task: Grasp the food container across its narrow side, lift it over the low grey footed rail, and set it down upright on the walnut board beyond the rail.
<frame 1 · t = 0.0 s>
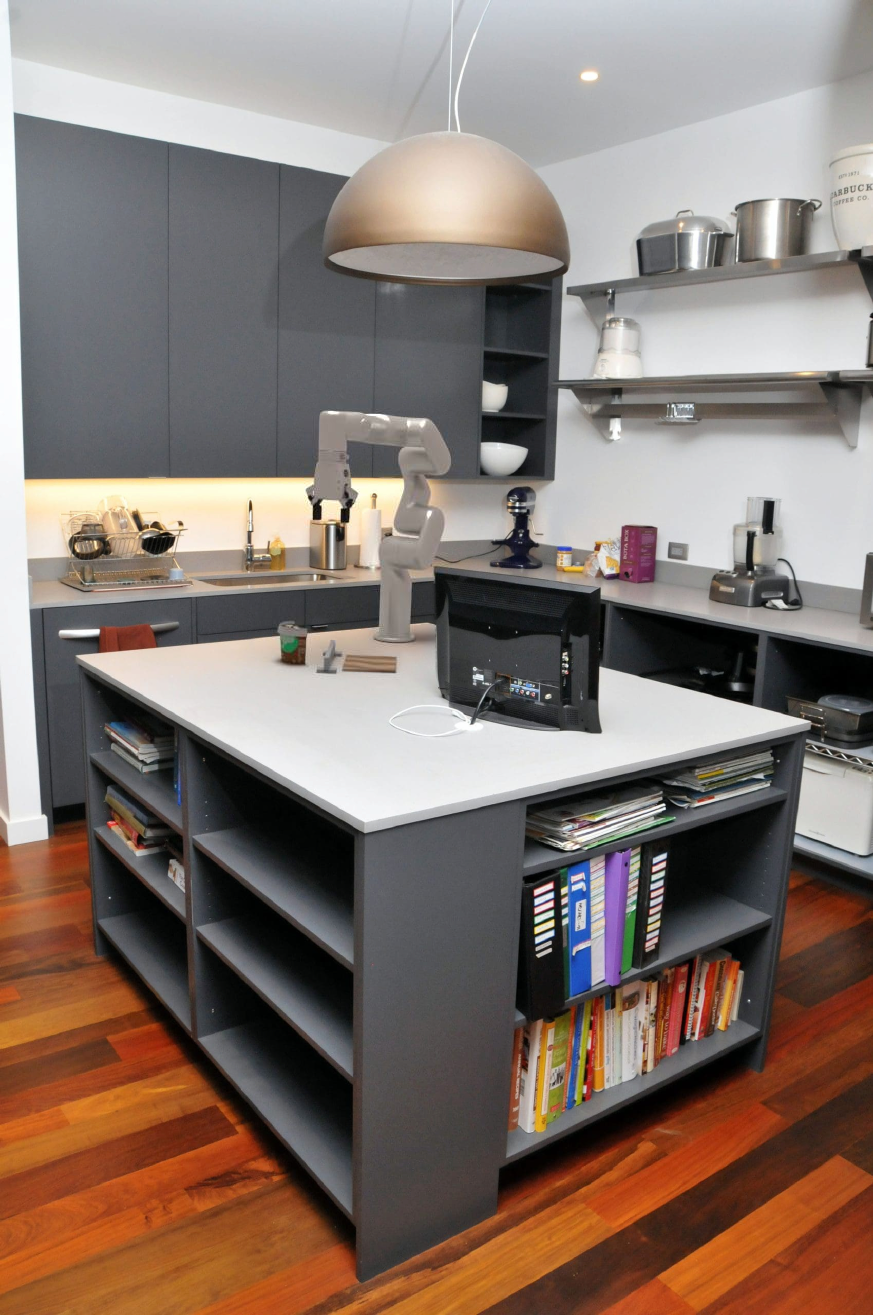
hand: (330, 521, 274), 37 cm above the table, tool pointing down, fingers open, 9 cm apart
grey footed rail: (329, 662, 271), on the table
food container: (288, 662, 271), on the table
walnut board: (370, 664, 272), on the table
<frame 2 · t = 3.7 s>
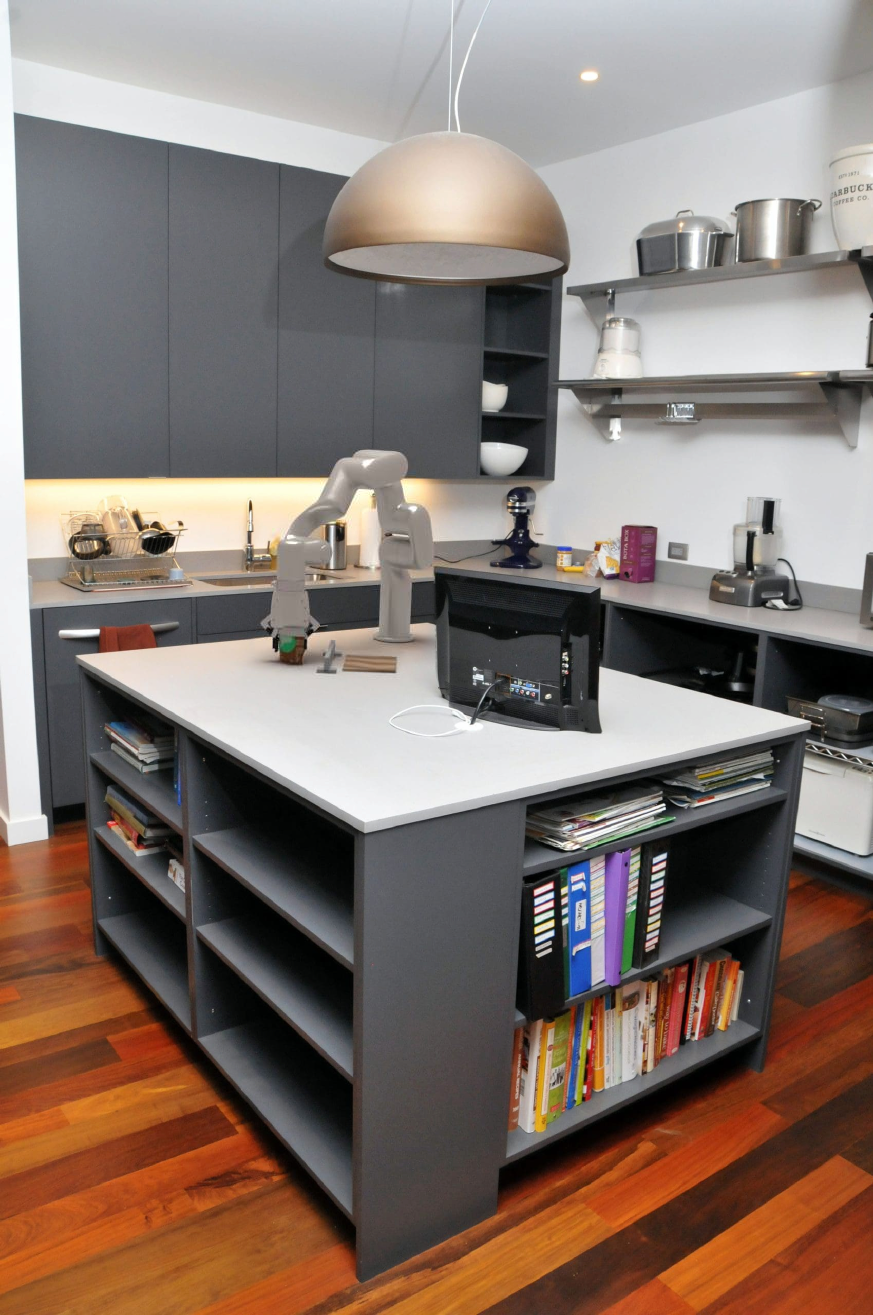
hand: (289, 651, 270), 3 cm above the table, tool pointing down, fingers closed on food container, 6 cm apart
food container: (287, 662, 271), on the table, touching gripper
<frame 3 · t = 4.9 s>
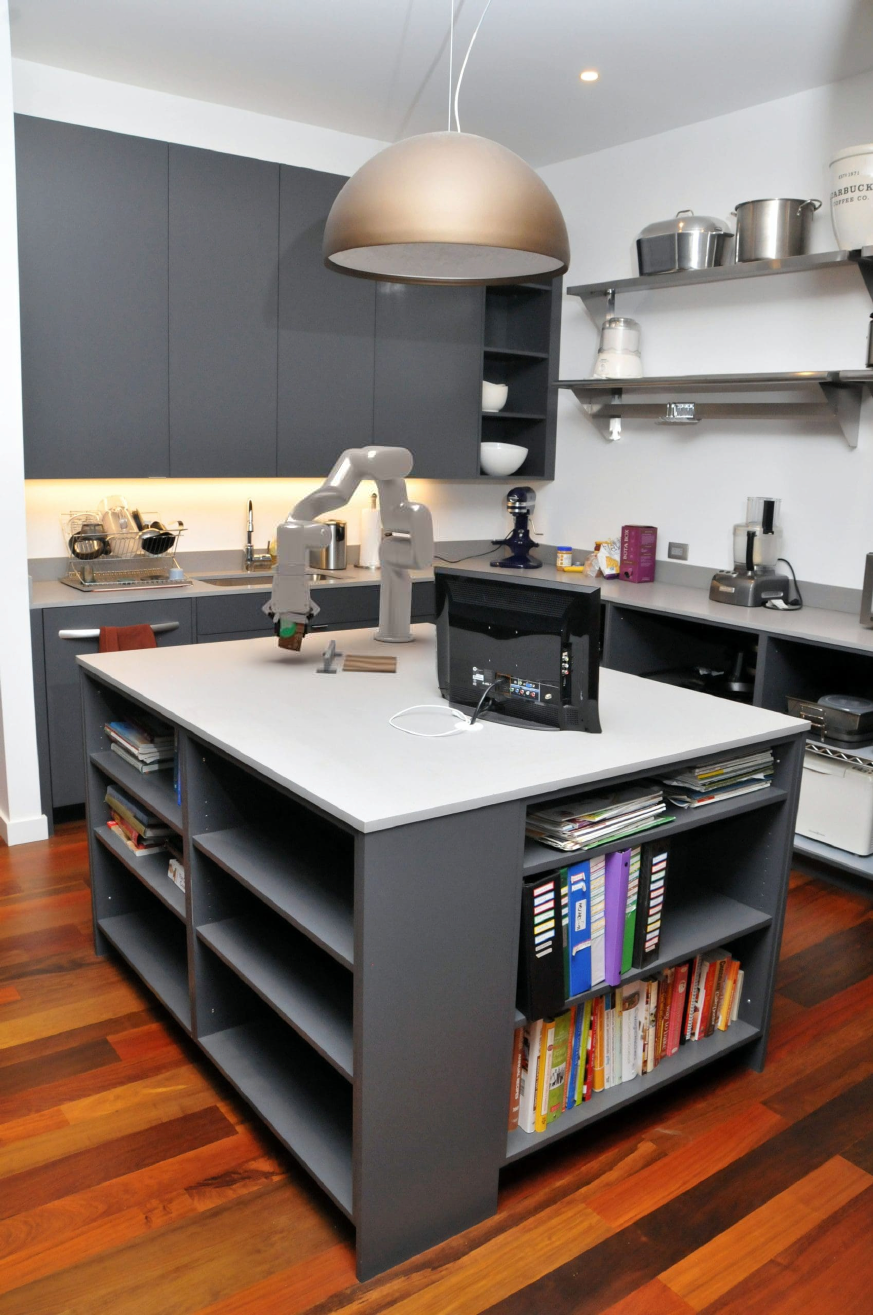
hand: (291, 635, 270), 7 cm above the table, tool pointing down, fingers closed on food container, 6 cm apart
food container: (285, 647, 270), point 4 cm above the table, touching gripper
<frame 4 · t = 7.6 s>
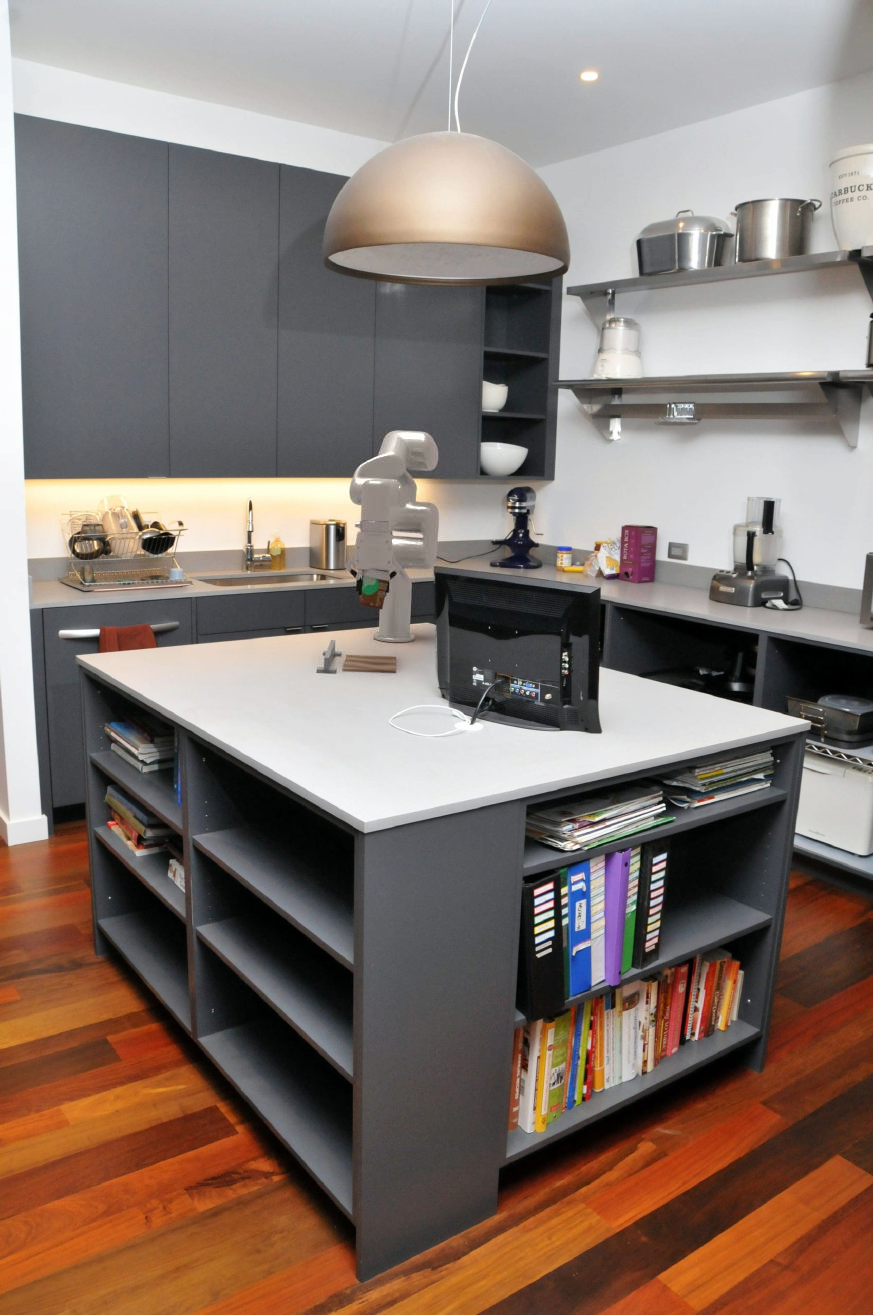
hand: (372, 594, 268), 19 cm above the table, tool pointing down, fingers closed on food container, 6 cm apart
food container: (366, 606, 268), point 16 cm above the table, touching gripper
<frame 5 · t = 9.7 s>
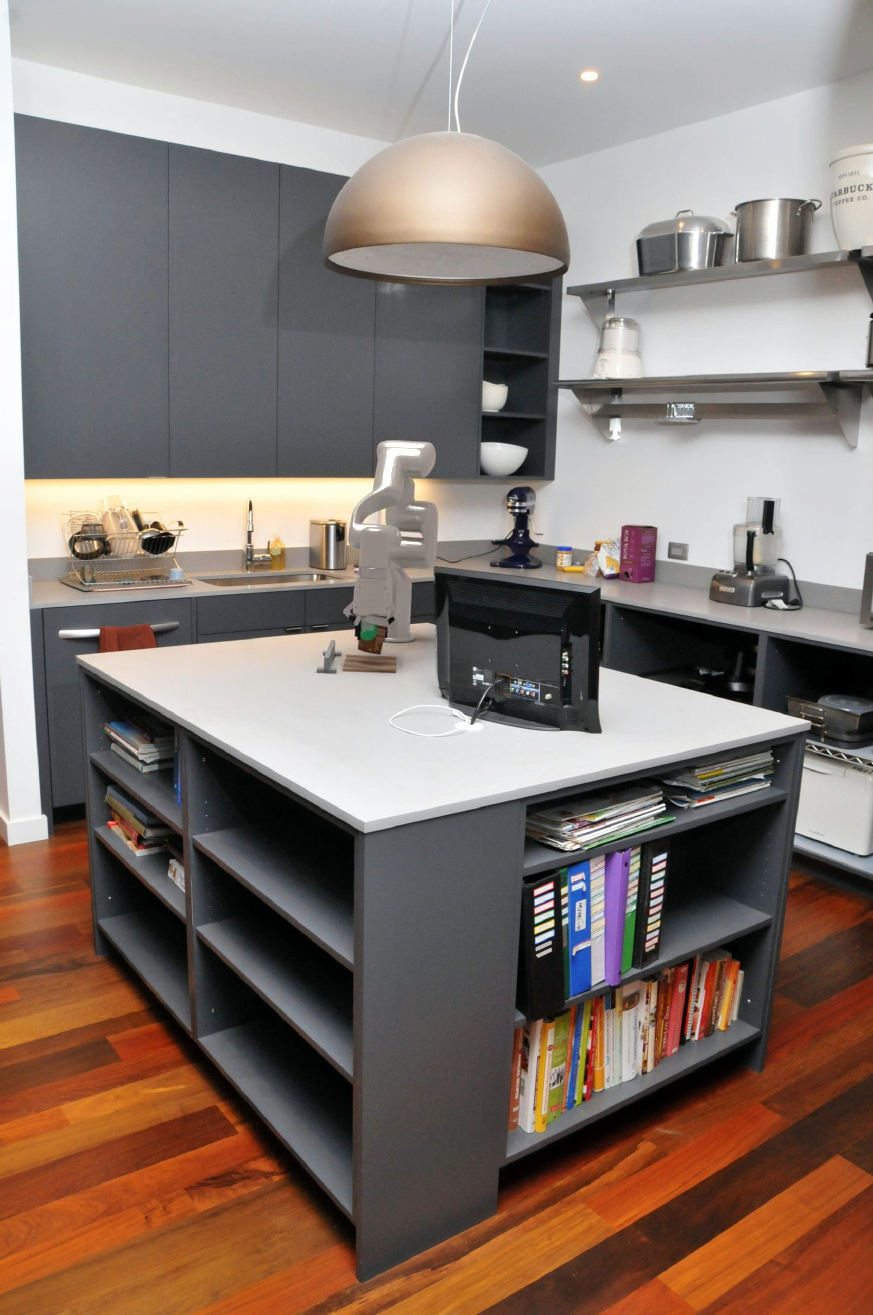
hand: (371, 639, 270), 7 cm above the table, tool pointing down, fingers closed on food container, 6 cm apart
food container: (364, 650, 270), point 4 cm above the table, touching gripper
when the fingers open (5 cm above the table, at t = 11.2 s): food container stays where it is, resting on walnut board.
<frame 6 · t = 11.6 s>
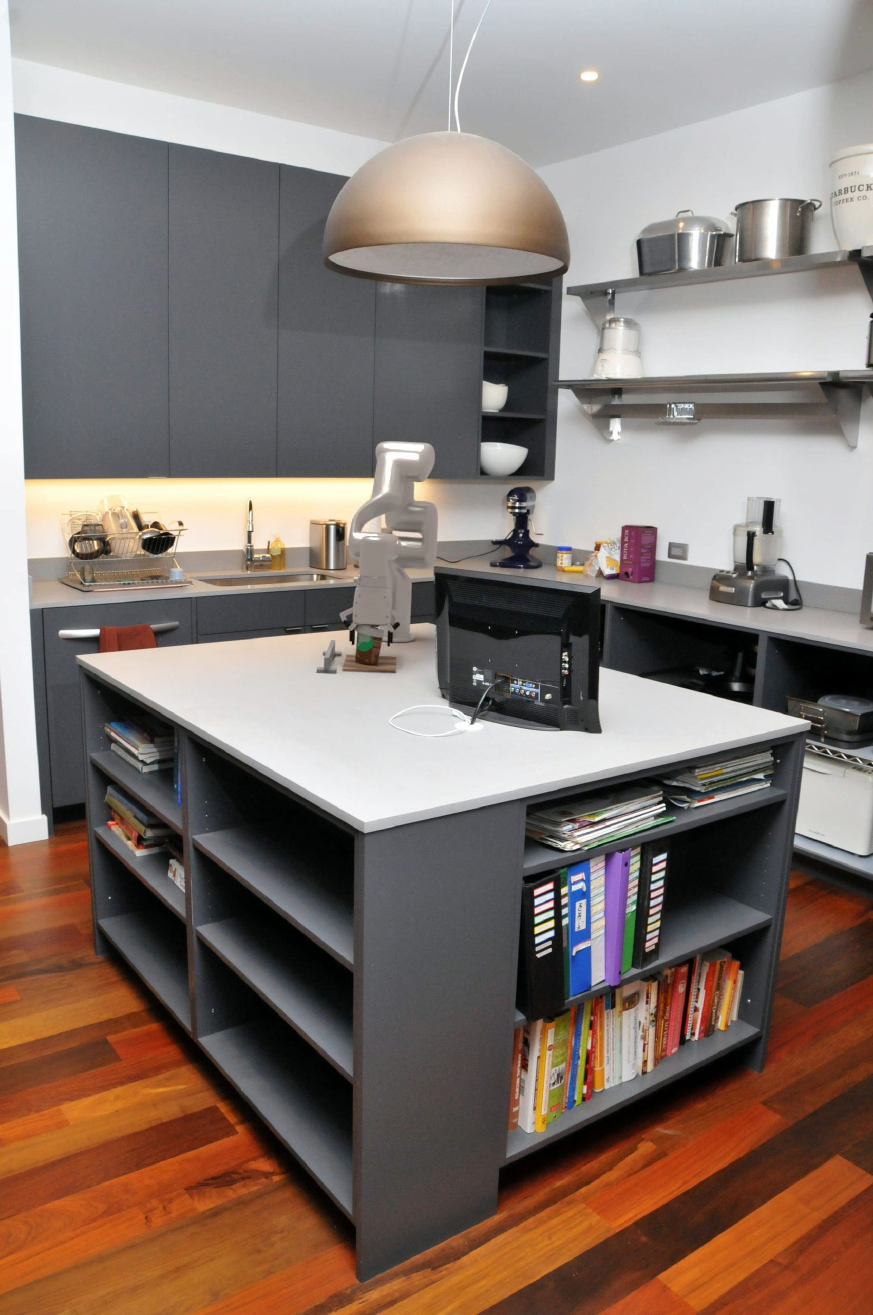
hand: (370, 645, 271), 5 cm above the table, tool pointing down, fingers open, 9 cm apart
food container: (362, 661, 271), point 1 cm above the table, touching walnut board
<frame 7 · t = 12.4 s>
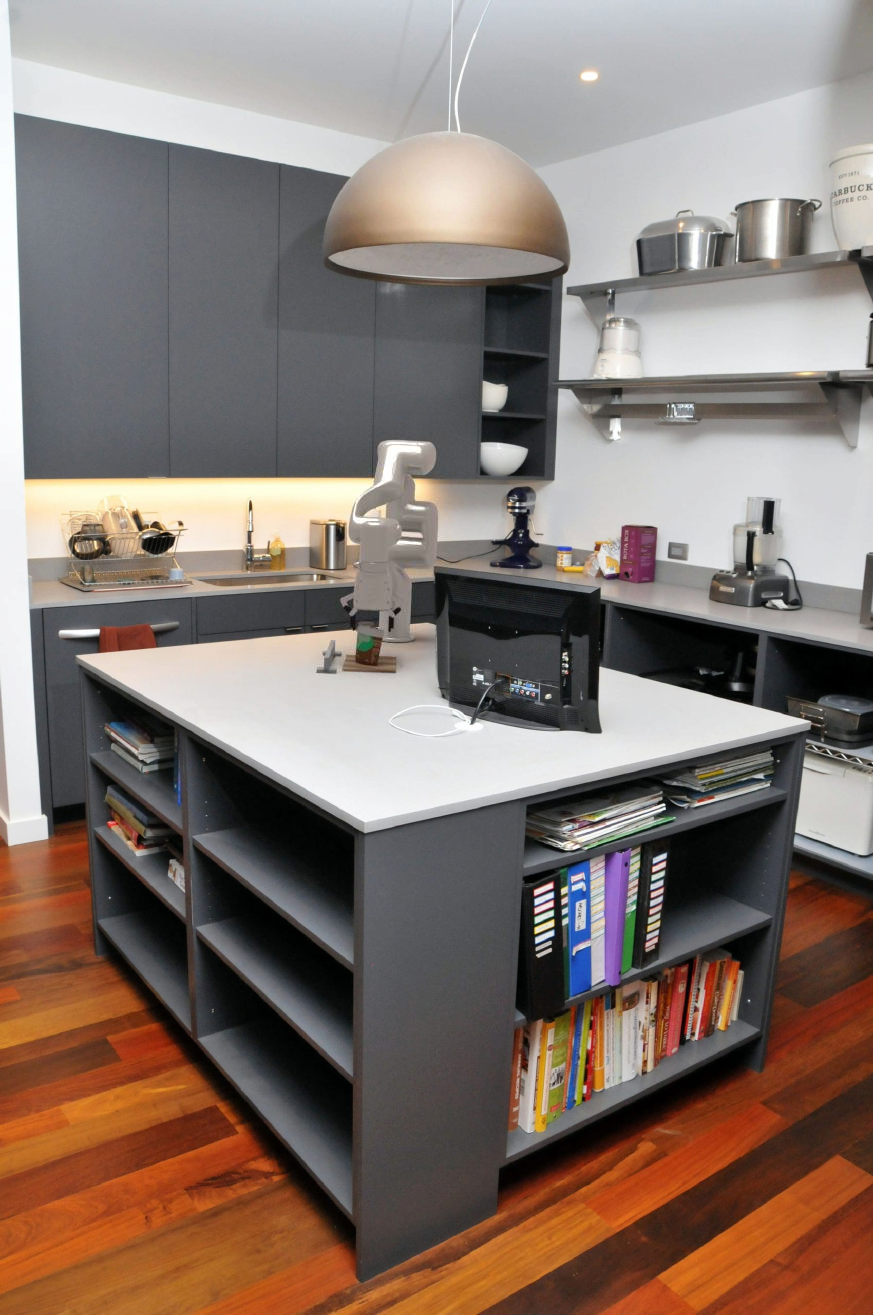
hand: (371, 630, 270), 9 cm above the table, tool pointing down, fingers open, 9 cm apart
food container: (362, 661, 271), point 1 cm above the table, touching gripper, walnut board
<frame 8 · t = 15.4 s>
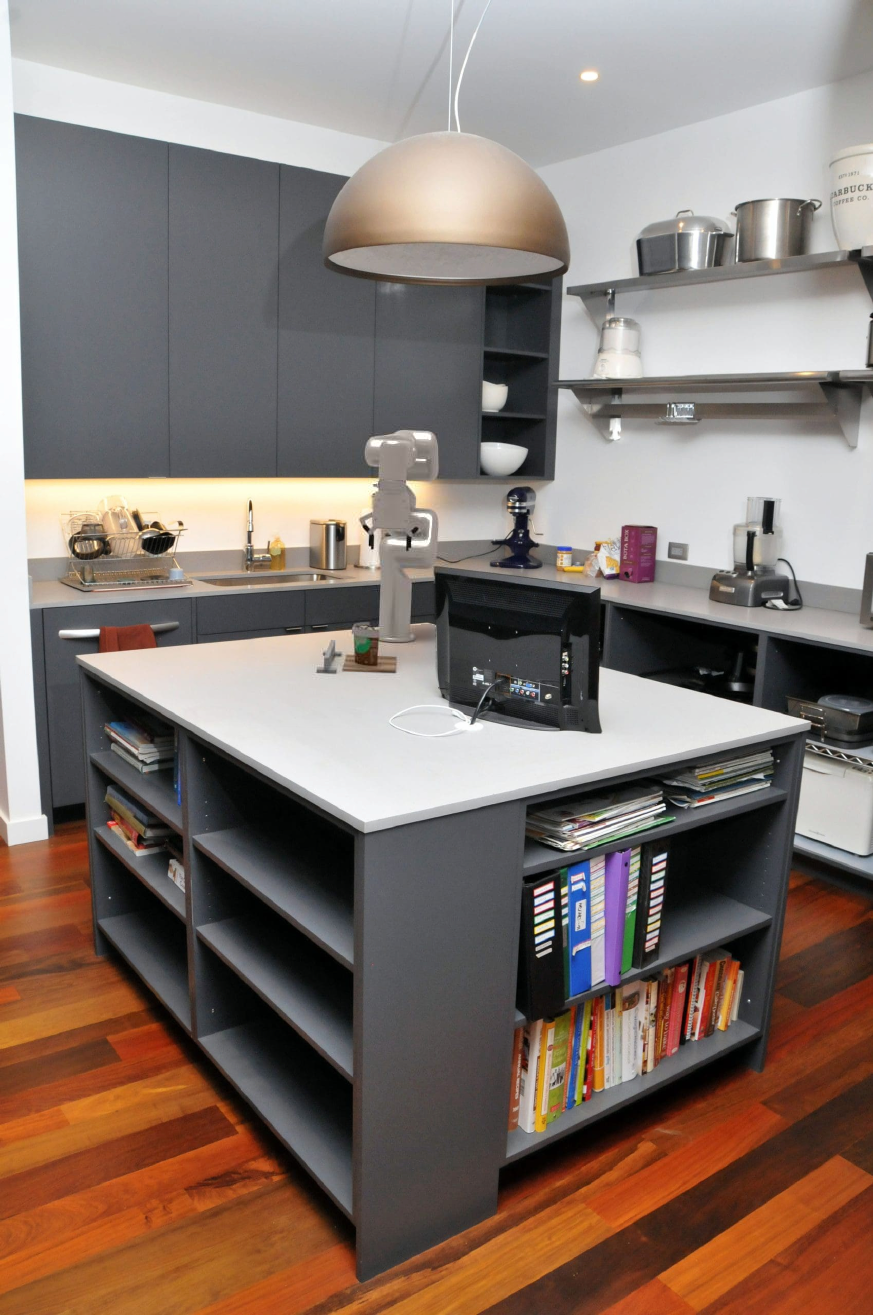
hand: (389, 549, 275), 30 cm above the table, tool pointing down, fingers open, 9 cm apart
food container: (362, 663, 271), resting on walnut board
at the end: food container 2.2 cm off-centre on the walnut board, point 0.4 cm above the walnut board's base; food container tilted 0°; food container touching walnut board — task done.
